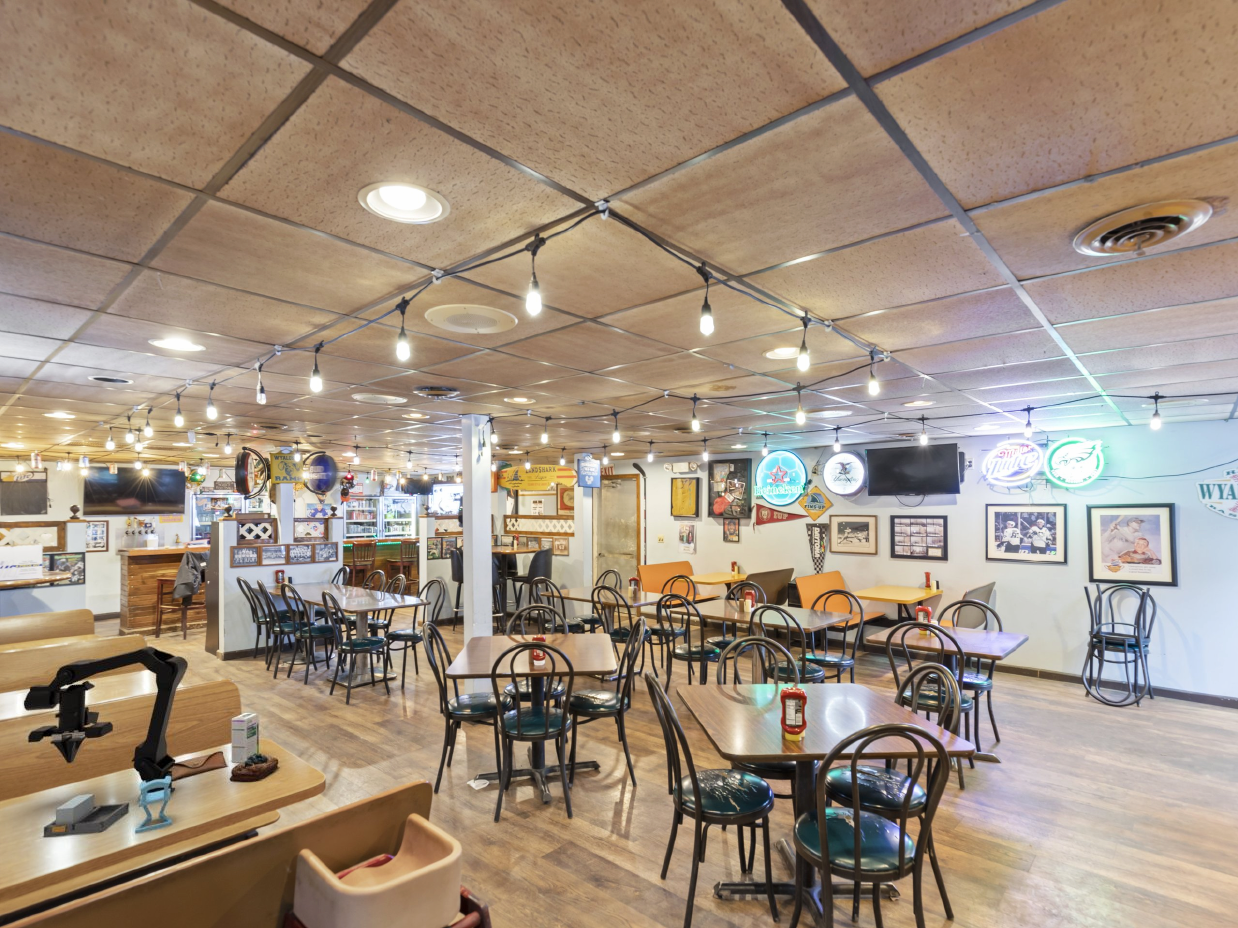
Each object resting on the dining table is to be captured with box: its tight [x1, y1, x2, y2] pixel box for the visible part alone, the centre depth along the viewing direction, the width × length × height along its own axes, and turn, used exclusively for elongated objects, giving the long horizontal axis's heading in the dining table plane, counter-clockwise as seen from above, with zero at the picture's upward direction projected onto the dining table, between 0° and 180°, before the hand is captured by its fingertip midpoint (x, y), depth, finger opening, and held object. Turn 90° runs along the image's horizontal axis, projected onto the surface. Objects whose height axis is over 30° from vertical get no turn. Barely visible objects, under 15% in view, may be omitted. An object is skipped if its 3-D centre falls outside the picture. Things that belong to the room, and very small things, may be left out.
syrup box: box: [231, 712, 260, 764], centre depth 210 cm, size 6×6×14 cm
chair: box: [134, 776, 173, 834], centre depth 168 cm, size 8×8×12 cm
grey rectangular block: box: [55, 793, 95, 825], centre depth 168 cm, size 4×8×5 cm, turn 8°
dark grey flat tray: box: [43, 802, 130, 838], centre depth 168 cm, size 14×11×2 cm
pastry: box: [229, 753, 279, 783], centre depth 198 cm, size 11×12×6 cm
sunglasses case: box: [169, 750, 229, 783], centre depth 201 cm, size 18×7×7 cm
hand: (70, 762), depth 180 cm, fingers closed
